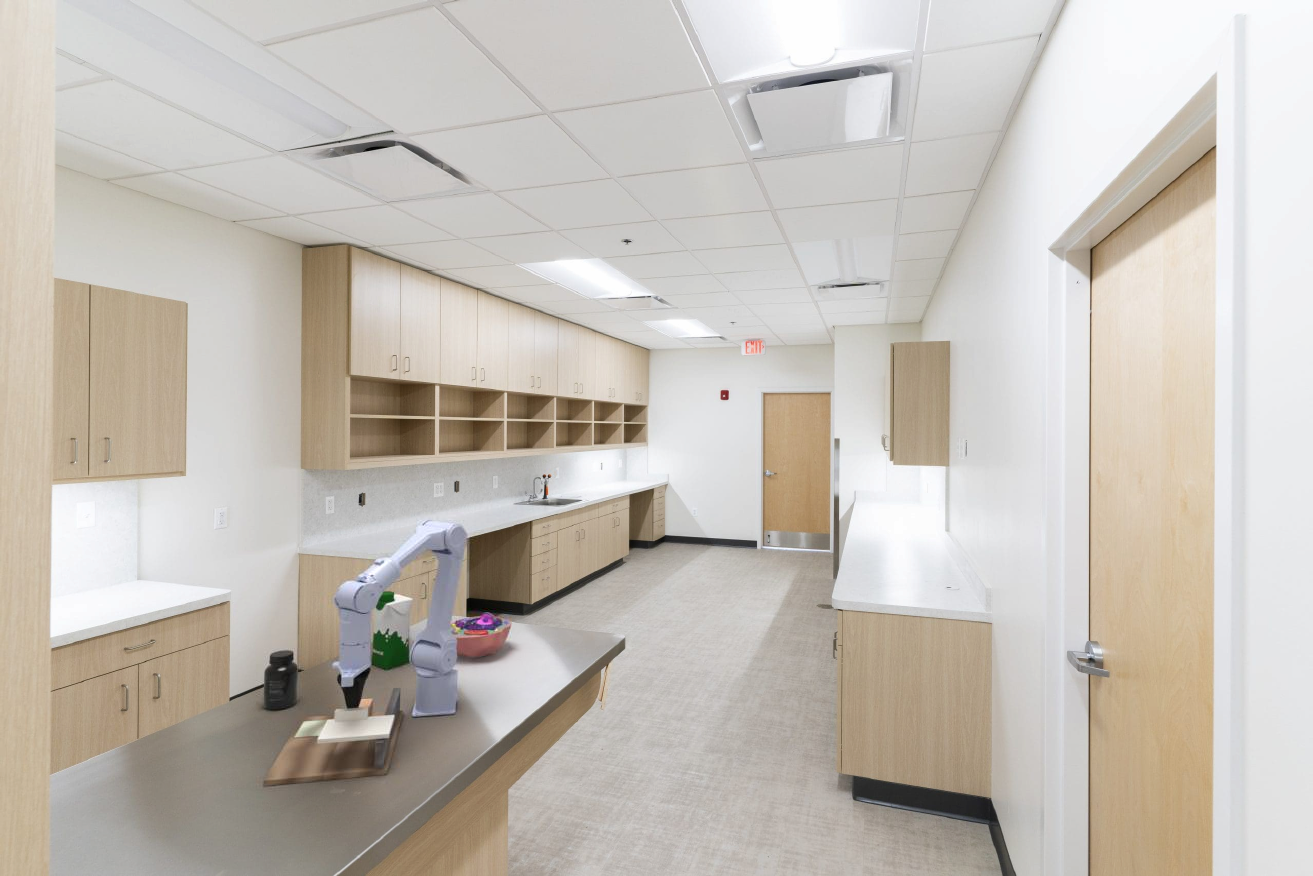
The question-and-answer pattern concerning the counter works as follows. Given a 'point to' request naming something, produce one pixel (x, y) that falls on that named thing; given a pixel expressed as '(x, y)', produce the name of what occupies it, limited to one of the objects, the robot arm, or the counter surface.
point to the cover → (355, 726)
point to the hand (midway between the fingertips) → (353, 707)
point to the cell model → (480, 634)
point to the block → (367, 705)
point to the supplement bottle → (280, 681)
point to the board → (334, 752)
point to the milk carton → (391, 631)
